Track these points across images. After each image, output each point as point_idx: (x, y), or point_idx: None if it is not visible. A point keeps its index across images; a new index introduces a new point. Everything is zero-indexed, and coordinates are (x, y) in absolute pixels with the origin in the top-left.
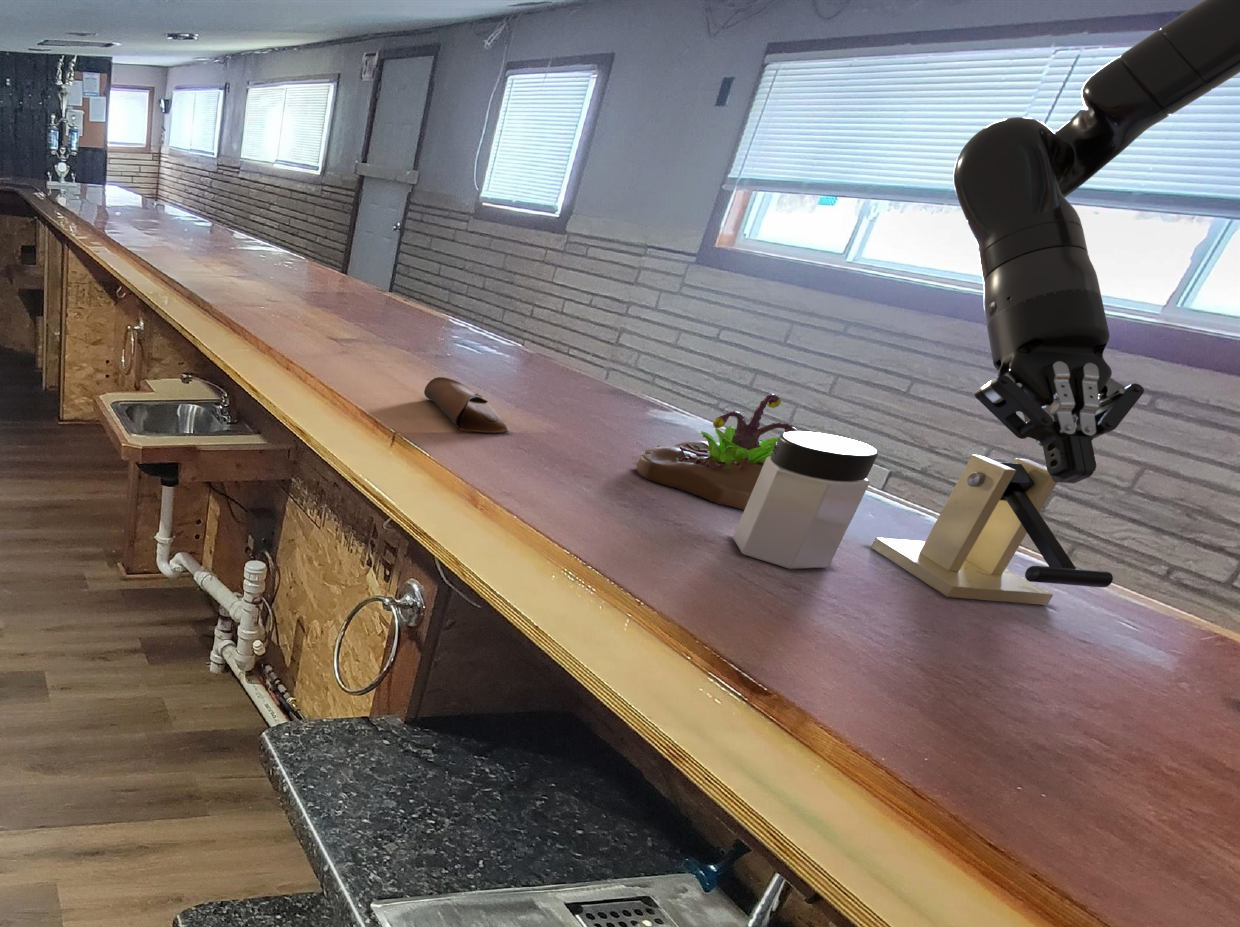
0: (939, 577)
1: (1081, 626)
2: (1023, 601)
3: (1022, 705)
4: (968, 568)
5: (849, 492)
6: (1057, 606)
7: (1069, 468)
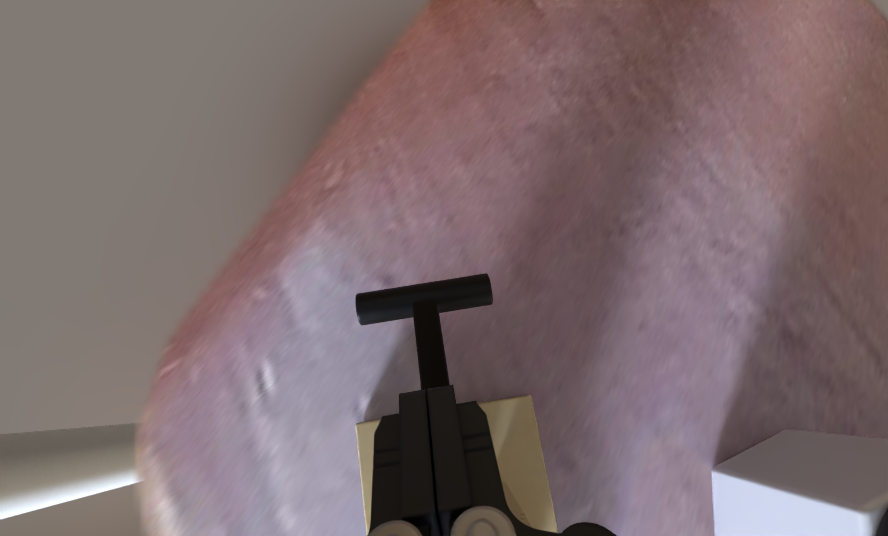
0: (539, 436)
1: (352, 344)
2: None
3: (582, 55)
4: None
5: (880, 477)
6: (340, 427)
7: (461, 406)
